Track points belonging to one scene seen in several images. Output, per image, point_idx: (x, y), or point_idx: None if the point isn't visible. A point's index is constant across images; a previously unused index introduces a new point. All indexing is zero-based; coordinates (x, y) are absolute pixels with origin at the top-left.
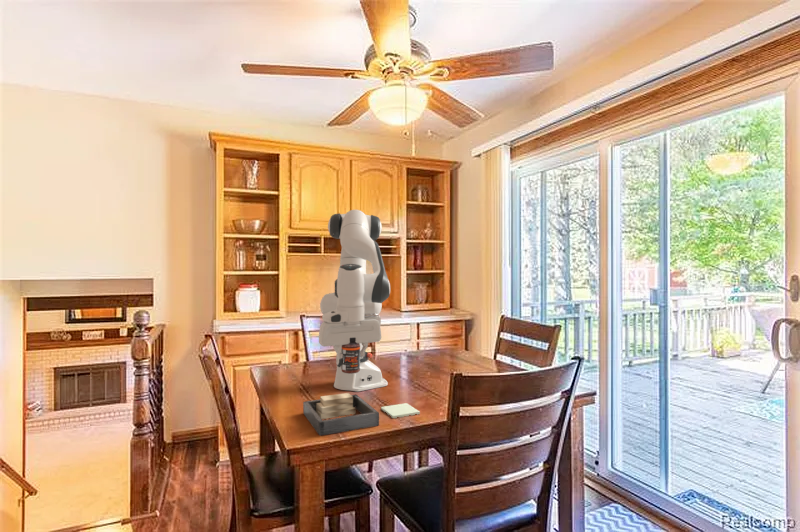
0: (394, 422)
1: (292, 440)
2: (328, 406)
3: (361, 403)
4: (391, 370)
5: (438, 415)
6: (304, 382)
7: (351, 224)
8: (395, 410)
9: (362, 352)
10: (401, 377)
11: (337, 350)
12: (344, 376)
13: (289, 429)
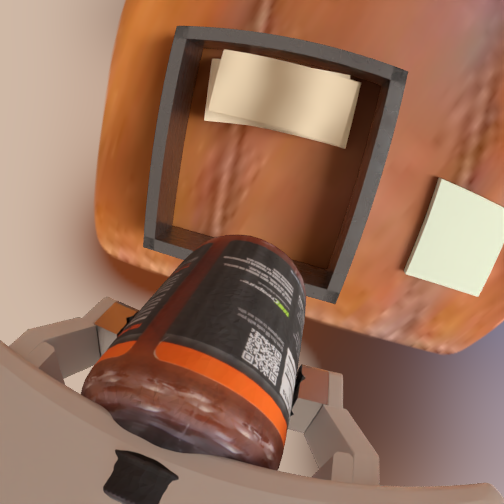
0: (383, 294)
1: (104, 214)
2: (232, 119)
3: (367, 166)
4: None
5: (488, 327)
6: None
7: None
8: (448, 241)
9: (303, 426)
10: None
11: (63, 371)
12: None
13: (115, 142)
